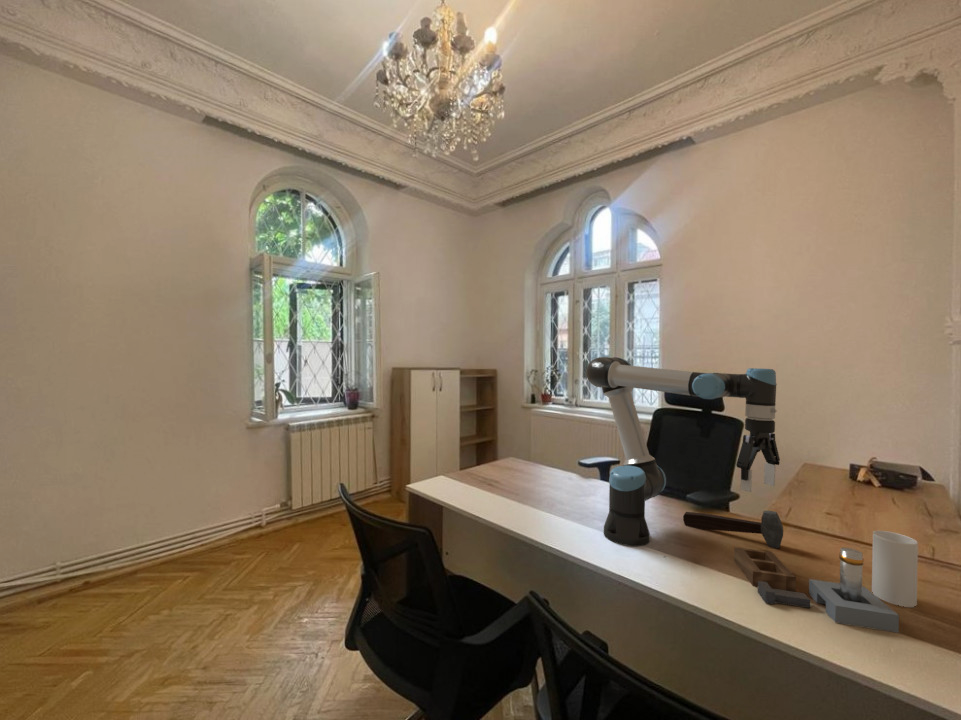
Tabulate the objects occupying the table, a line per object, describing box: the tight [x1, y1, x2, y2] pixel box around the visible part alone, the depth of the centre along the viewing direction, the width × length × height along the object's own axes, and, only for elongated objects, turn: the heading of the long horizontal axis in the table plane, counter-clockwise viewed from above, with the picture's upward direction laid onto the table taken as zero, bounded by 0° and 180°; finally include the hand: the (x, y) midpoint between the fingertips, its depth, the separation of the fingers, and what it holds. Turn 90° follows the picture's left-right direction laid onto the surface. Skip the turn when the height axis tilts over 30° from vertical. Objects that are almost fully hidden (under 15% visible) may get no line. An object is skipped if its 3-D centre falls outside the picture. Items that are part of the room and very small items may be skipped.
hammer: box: [683, 510, 784, 550], centre depth 142 cm, size 5×11×30 cm
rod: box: [838, 547, 865, 603], centre depth 98 cm, size 4×4×15 cm
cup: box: [871, 530, 919, 608], centre depth 105 cm, size 8×8×16 cm
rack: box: [733, 546, 797, 592], centre depth 115 cm, size 10×15×4 cm, turn 164°
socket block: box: [808, 578, 900, 634], centre depth 98 cm, size 12×12×4 cm
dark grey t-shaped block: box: [757, 581, 811, 609], centre depth 102 cm, size 10×5×3 cm, turn 74°
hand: (757, 487), depth 123 cm, fingers open, 13 cm apart
